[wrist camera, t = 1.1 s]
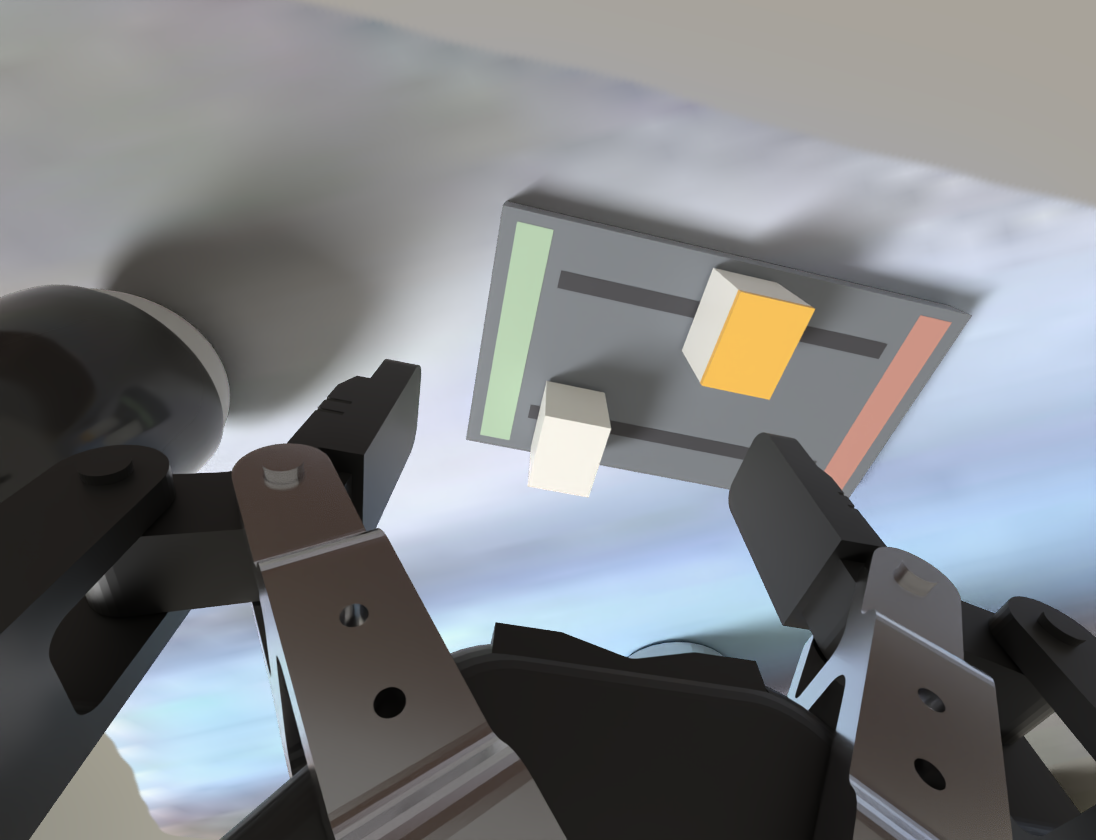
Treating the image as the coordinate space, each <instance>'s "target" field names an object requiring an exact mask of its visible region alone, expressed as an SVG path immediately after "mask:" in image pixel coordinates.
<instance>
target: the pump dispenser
mask: <svg viewBox="0 0 1096 840" xmlns="http://www.w3.org/2000/svg"><path fill="white" fill-rule="evenodd" d="M229 406H230V388H229V383H228V378H227V375H226V372H225V369H224V367H223V364H222V362H221V360H220V358H219V356H218V355H217V353H216V351H215V350H214V348H213V347H212V346H211V344H210V343H209V342H208V341H207V340H206V338H205V337H204V336H203V335H202V334H201V333H200V332H199V331H198V330H197V329H196V328H195V327H193V326H192V325H191V324H190V323H189V322H187V321H186V320H185V319H183V318H182V317H180V316H179V315H177V314H176V313H174V312H172V311H171V310H169V309H167V308H165V307H163V306H161V305H159V304H157V303H155V302H152V301H150V300H147V299H145V298H142V297H138V296H135V295H132V294H127V293H123V292H118V291H112V290H104V289H88V288H84V287H78V286H70V285H44V286H37V287H32V288H28V289H24V290H20V291H17V292H14V293H11V294H7V295H4V296H2V297H0V503H1V502H3V501H4V500H6V499H7V498H8V497H10V496H11V495H13V494H14V493H16V492H17V491H18V490H20V489H21V488H23V487H24V486H25V485H27V484H28V483H30V482H31V481H32V480H34V479H35V478H37V477H38V476H39V475H41V474H42V473H44V472H45V471H46V470H48V469H49V468H51V467H52V466H54V465H55V464H57V463H58V462H60V461H62V460H64V459H66V458H68V457H70V456H72V455H75V454H78V453H80V452H84V451H87V450H90V449H95V448H99V447H105V446H112V445H141V446H146V447H151V448H154V449H157V450H158V451H160V452H162V453H163V454H164V455H166V456H167V458H168V460H169V463H170V468H171V472H172V474H190V473H197V472H198V471H199V470H200V469H201V468H202V467H203V466H204V465H205V464H206V463H207V462H208V461H209V460H210V459H211V458H212V456H213V455H214V454H215V452H216V450H217V449H218V447H219V444H220V442H221V438H222V434H223V428H224V426H225V423H226V420H227V416H228V412H229Z"/></svg>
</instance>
